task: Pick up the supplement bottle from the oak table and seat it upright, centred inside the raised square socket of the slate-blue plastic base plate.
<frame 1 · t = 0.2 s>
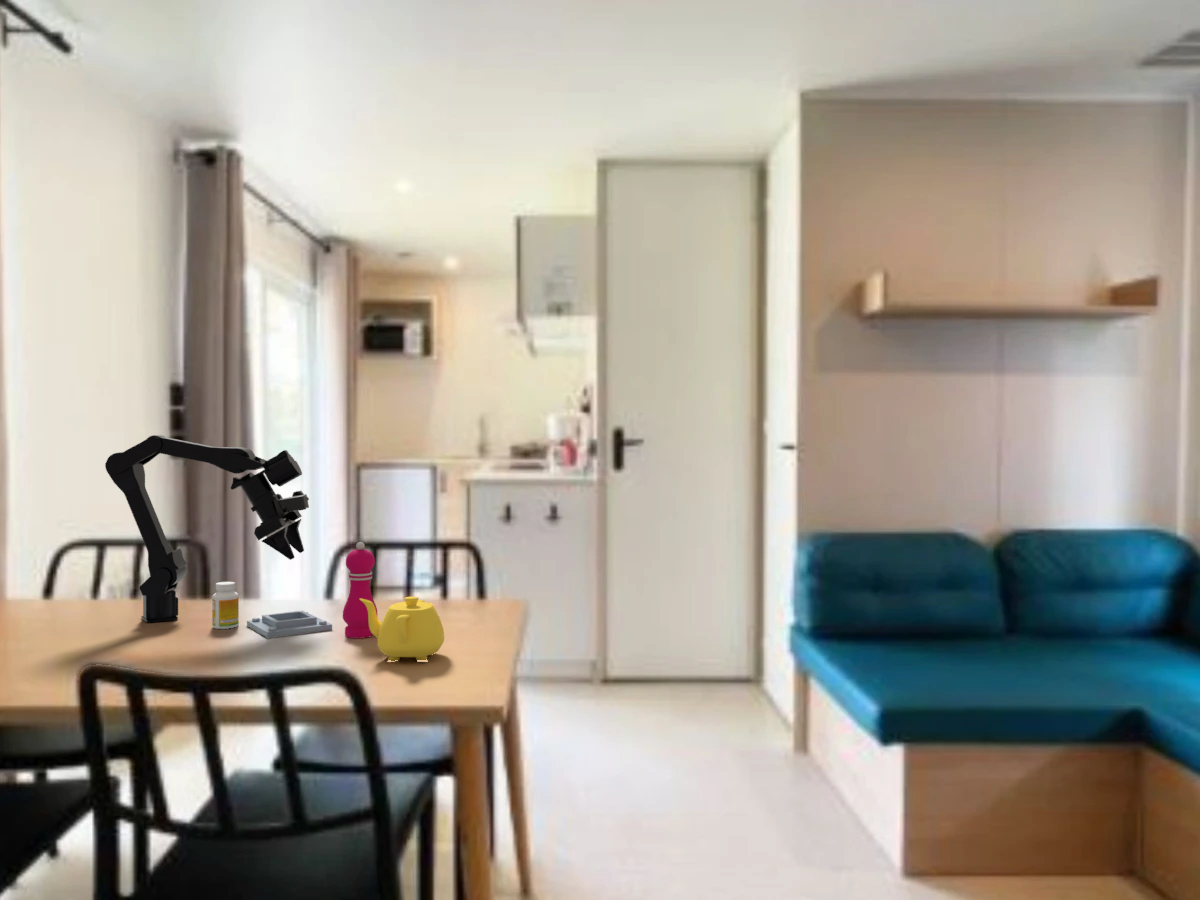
hand: (297, 555, 219), 15 cm above the table, tool tilted 30°, fingers open, 9 cm apart
pepper mill: (360, 636, 203), on the table
base plate: (289, 628, 208), on the table
supplement bottle: (225, 627, 209), on the table
teapot: (401, 658, 184), on the table
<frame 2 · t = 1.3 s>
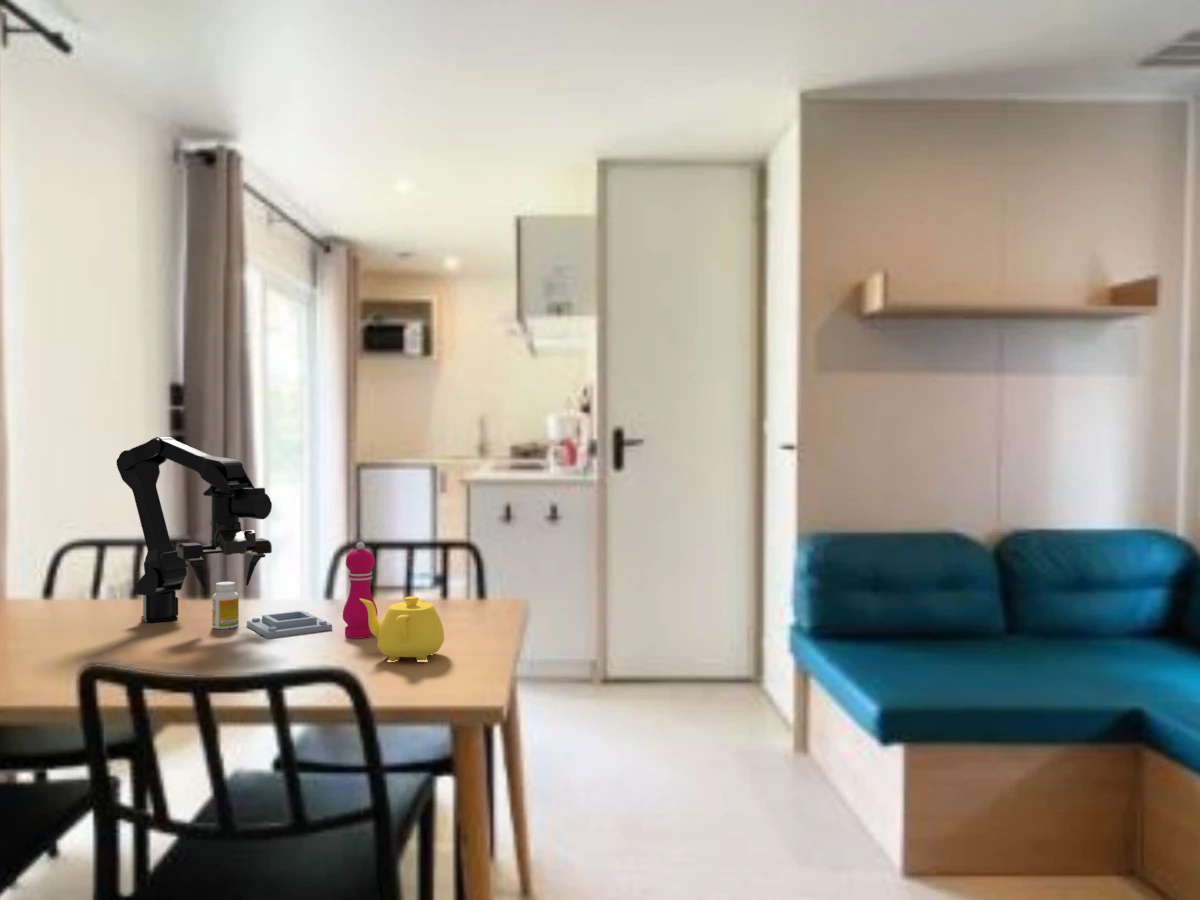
hand: (225, 587, 209), 9 cm above the table, tool pointing down, fingers open, 9 cm apart
nothing on the table moved.
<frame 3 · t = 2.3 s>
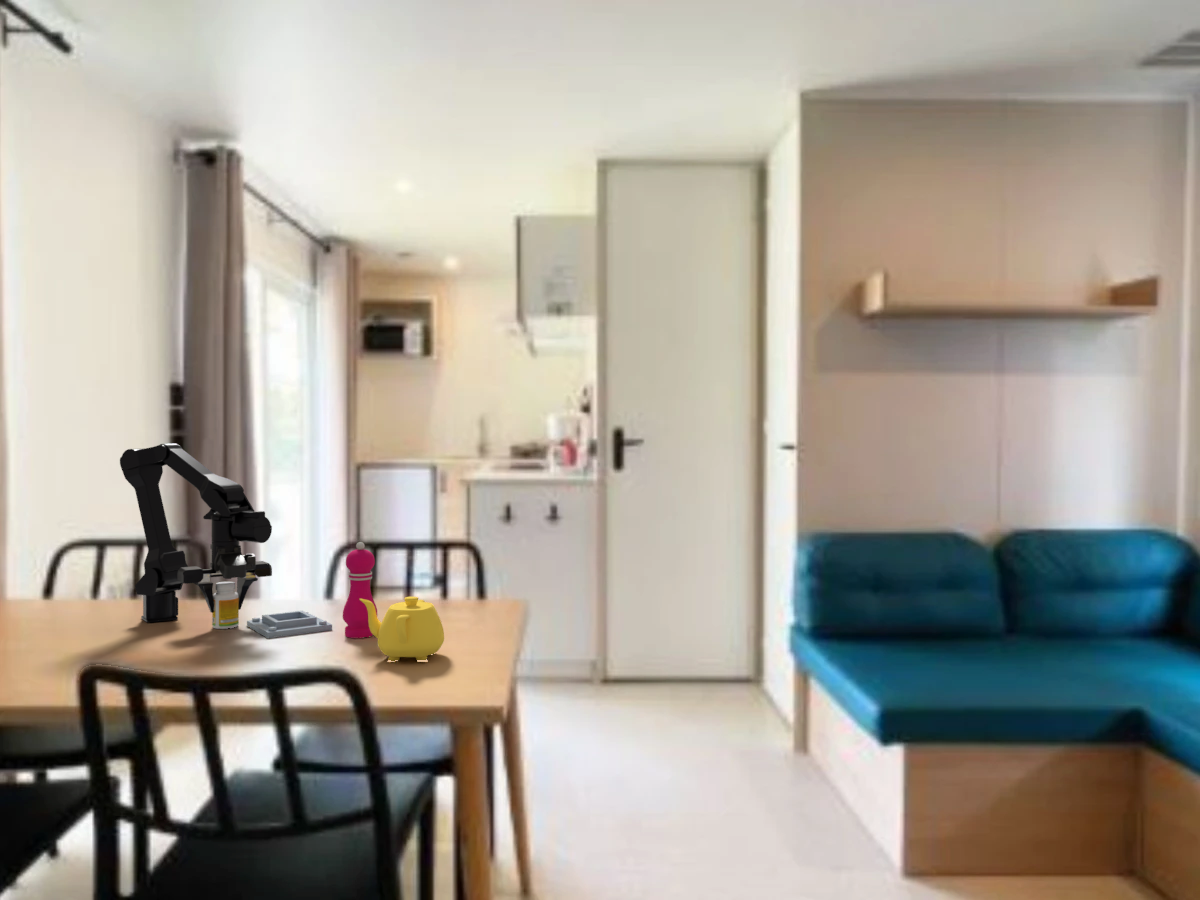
hand: (225, 610, 209), 4 cm above the table, tool pointing down, fingers closed on supplement bottle, 5 cm apart
supplement bottle: (225, 627, 209), on the table, touching gripper
everything else where it was.
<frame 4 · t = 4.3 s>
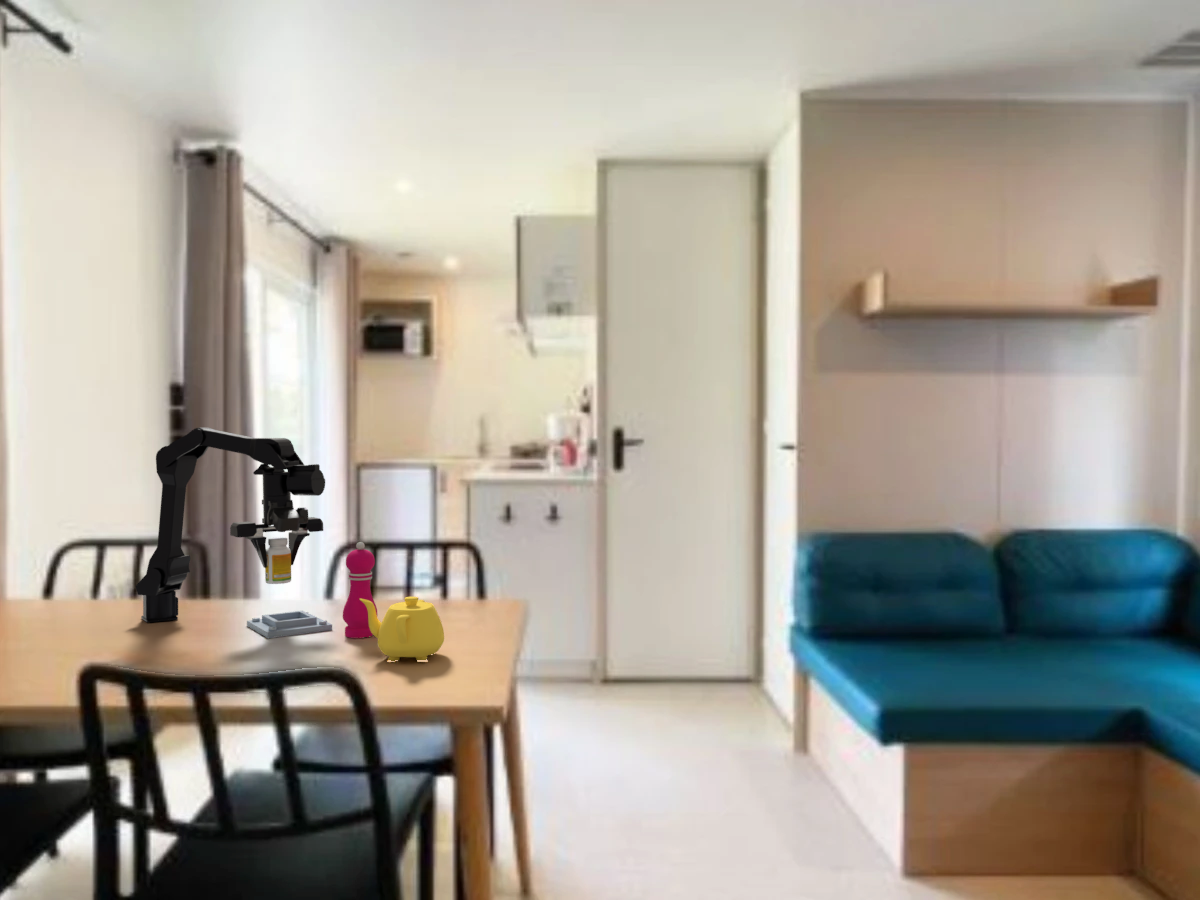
hand: (278, 566, 208), 14 cm above the table, tool pointing down, fingers closed on supplement bottle, 5 cm apart
supplement bottle: (278, 583, 208), point 10 cm above the table, touching gripper
everything else where it was.
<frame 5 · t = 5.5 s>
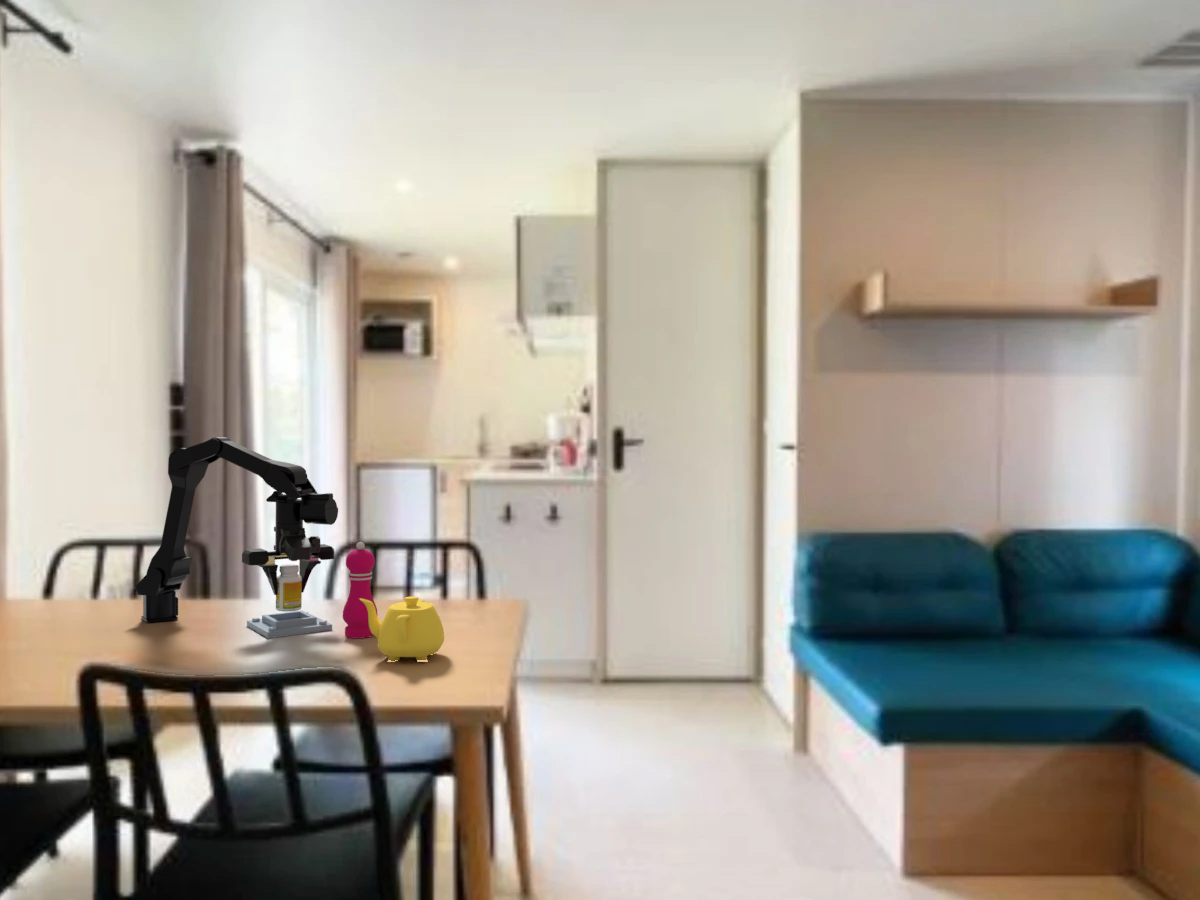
hand: (288, 593, 208), 8 cm above the table, tool pointing down, fingers closed on supplement bottle, 5 cm apart
supplement bottle: (288, 610, 208), point 4 cm above the table, touching gripper
everything else where it was.
when the fingers open (5 cm above the table, at t = 6.4 s): supplement bottle stays where it is, resting on base plate.
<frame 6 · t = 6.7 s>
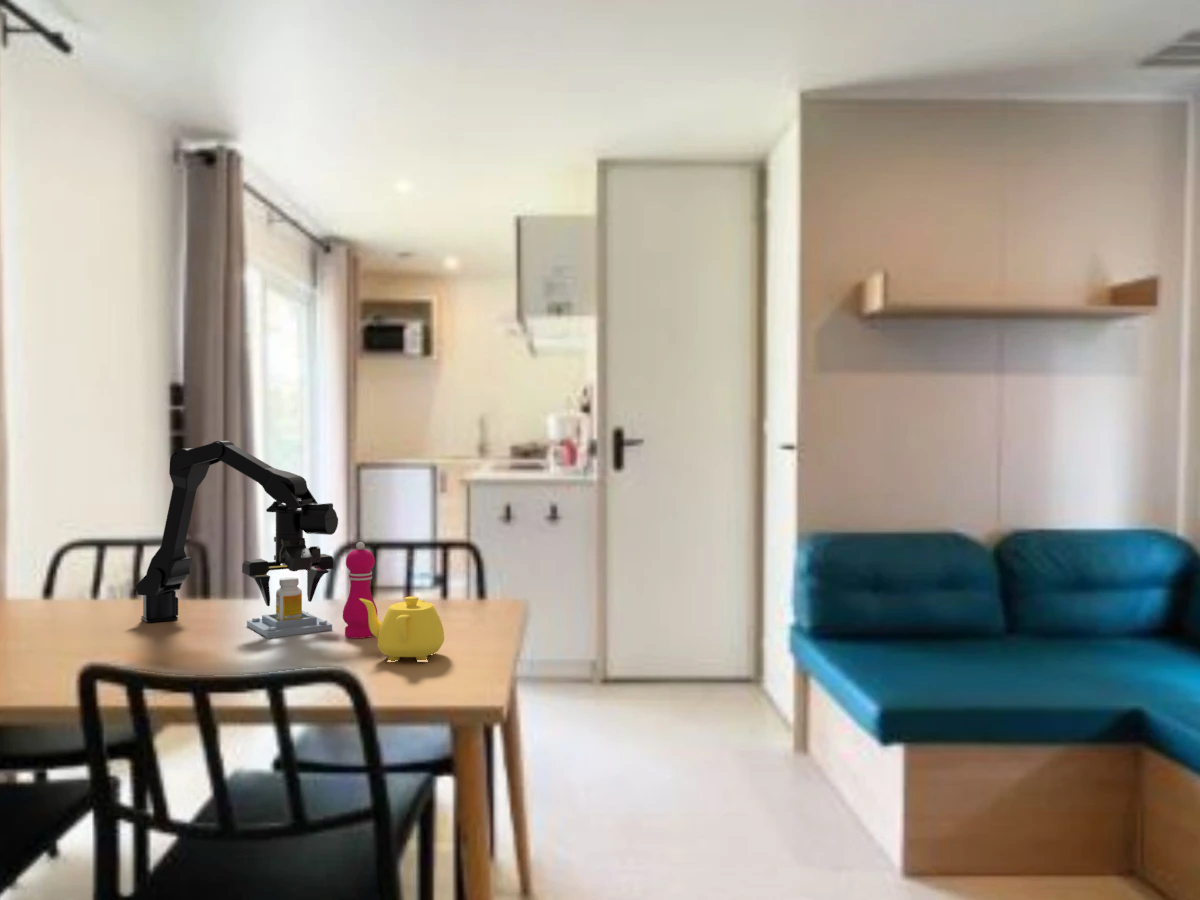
hand: (289, 603, 208), 5 cm above the table, tool pointing down, fingers open, 9 cm apart
supplement bottle: (289, 623, 208), point 1 cm above the table, touching base plate
everything else where it was.
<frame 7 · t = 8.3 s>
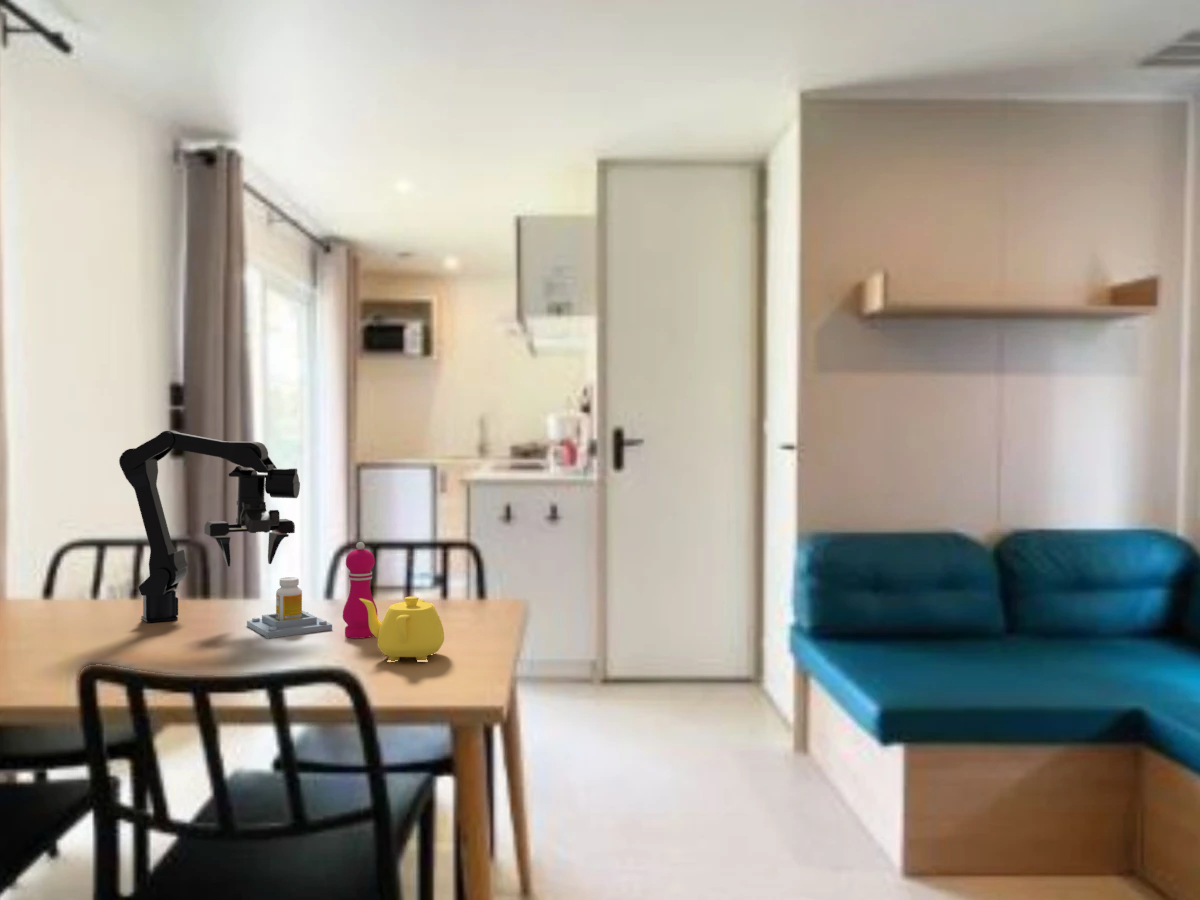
hand: (249, 565, 216), 12 cm above the table, tool pointing down, fingers open, 9 cm apart
nothing on the table moved.
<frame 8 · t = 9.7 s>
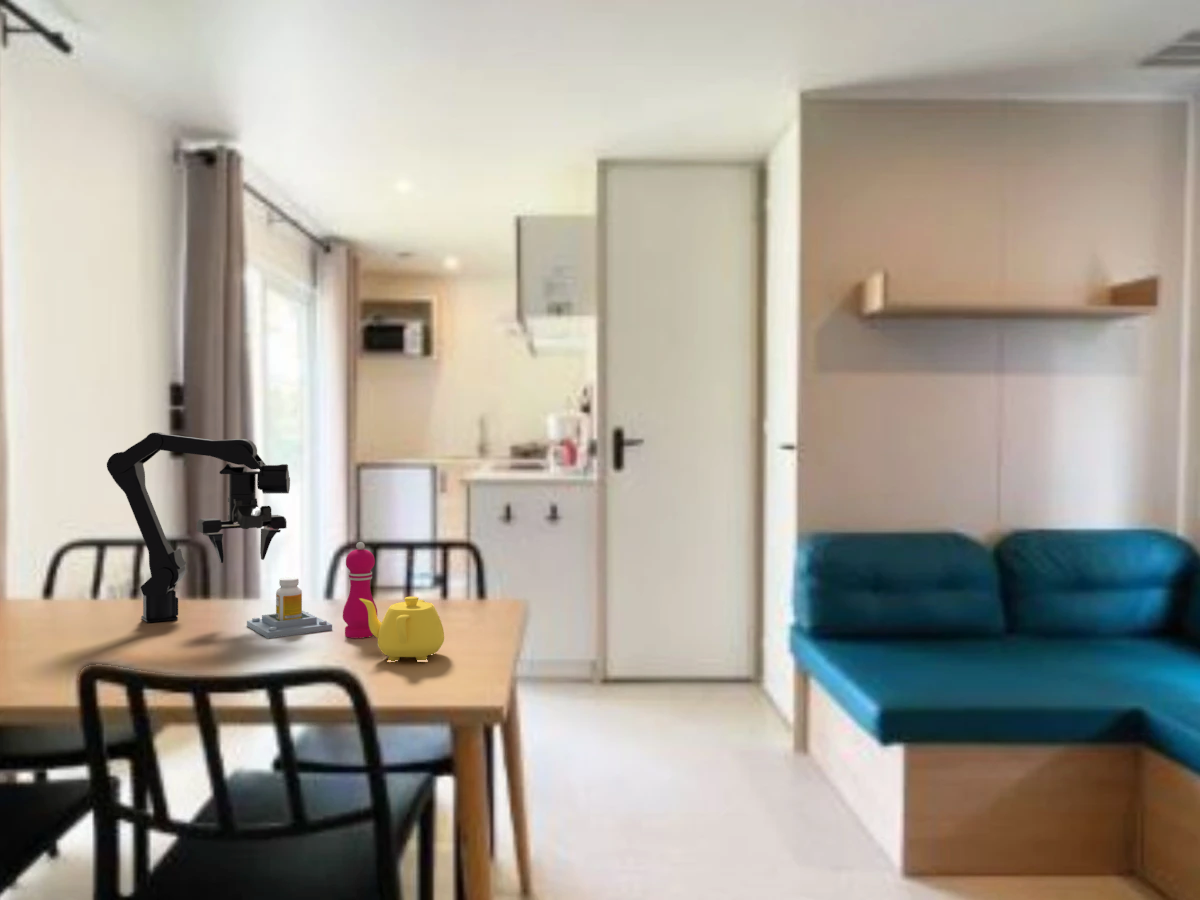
hand: (242, 561, 218), 13 cm above the table, tool pointing down, fingers open, 9 cm apart
nothing on the table moved.
at the end: supplement bottle 0.0 cm off-centre on the base plate, point 1.0 cm above the base plate's base; supplement bottle tilted 0°; the gripper is holding nothing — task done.
